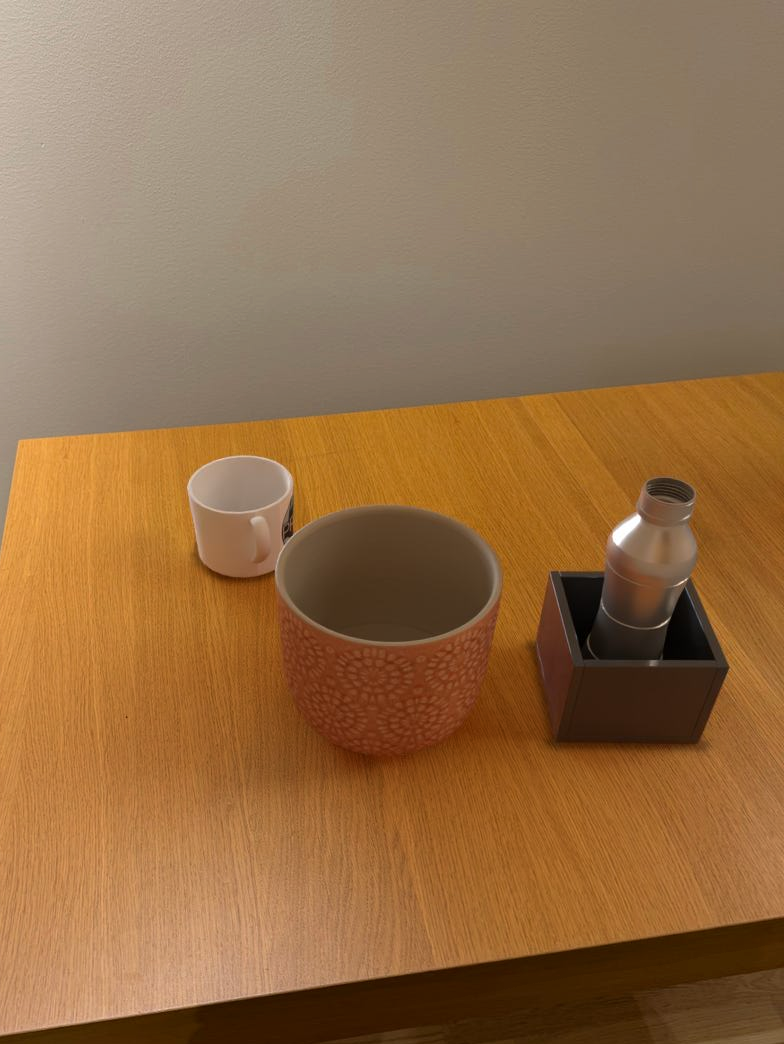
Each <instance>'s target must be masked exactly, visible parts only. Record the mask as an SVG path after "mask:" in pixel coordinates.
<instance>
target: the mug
mask: <svg viewBox="0 0 784 1044" xmlns="http://www.w3.org/2000/svg"><path fill="white" fill-rule="evenodd" d="M186 489H187V495H188V500H189V508H190V511H191V516H192V522H193V527H194V534H195V538H196V544H197V549H198V556H199V558H200V560H201V562H202V563H203V565H204V566H206V567H207V568H209V570H211V571H213V572H215V573H218V574H220V575H222V576H226V577H231V578H245V579H246V578H254V577H260V576H263V575H266V574H269V573H271V572H273V571H275V566H276V562H277V559H278V556H279V554H280V552H281V550H282V548H283V547H284V545H285V544H286V543H287V541H288V540H289V539H290V538H291V537H292V536H293V535H294V501H295V500H294V499H295V496H294V494H295V492H294V491H295V490H294V489H295V481H294V479H293V476H292V474H291V473H290V472H289V470H288V469H287V468H286V467H285V466H284V465H282V464H281V463H279V462H277V461H275V460H272V459H270V458H267V457H263V456H256V455H233V456H226V457H222V458H219V459H215V460H213V461H210V462H208V463H206V464H204V465H202V466H201V467H199V468H198V469H197V470H195V472H194V473H193V474H192V476H191V477H190V478H189V480H188V484H187V486H186Z"/></svg>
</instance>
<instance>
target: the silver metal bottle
mask: <svg viewBox="0 0 784 1044" xmlns="http://www.w3.org/2000/svg"><path fill="white" fill-rule="evenodd" d="M696 500H697V491H696V489H695V488H694V487H693V486H692V485H691V484H690V483H688V482H686V481H684V480H683V479H680V478H677V477H676V478H675V477H671V476H655V477H651V478H649V479H647V480H646V481H645V482H644V483H643V485H642V487H641V491H640V494H639V497H637V500H636V503H635V511H634V512H632V513H630V514H629V515H628V516H626V517H625V518H624V519H623V520H621V521H619V522H618V523H617V524H616V525H615V526H614V528H613V529H612V531H611V532H610V534H609V535H608V538H607V540H606V547H605V559H604V561H605V562H604V571H605V576H604V584H603V590H602V598H601V602H600V608H599V611H598V614H597V616H596V619H595V622H594V625H593V628H592V630H591V633H590V634H589V636H588V637H587V639H586V641H585V643H584V645H583V648H582V650H581V655H582V659H583V660H663V647H664V642H665V637H666V632H667V627H668V624H669V621H670V618H671V615H672V613H673V611H674V608H675V606H676V603H677V600H678V598H679V596H680V594H681V593H682V591H683V589H684V587H685V585H686V583H687V581H688V579H689V577H691V575H692V573H693V572H694V570H695V567H696V565H697V562H698V557H699V556H698V545H697V544H698V543H697V541H696V538H695V536H694V533H693V531H692V529H691V527H690V525H689V524H688V523H689V522H690V521H691V520H692V517H693V513H694V506H695V503H696Z"/></svg>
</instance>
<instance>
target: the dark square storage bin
mask: <svg viewBox="0 0 784 1044" xmlns="http://www.w3.org/2000/svg"><path fill="white" fill-rule="evenodd" d="M604 576H605V570H560V571H559V570H549V573H548V578H547V582H546V587H545V592H544V597H543V602H542V608H541V612H540V616H539V622H538V627H537V631H536V637H535V641H534V642H535V643H534V648H535V653H536V658H537V662H538V667H539V671H540V676H541V680H542V687H543V690H544V694H545V699H546V705H547V708H548V713H549V718H550V722H551V726H552V732H553V737H554V740H555V741H554V742H556V743H599V744H600V743H601V744H602V743H603V744H604V743H607V744H609V743H611V744H612V743H613V744H614V743H615V744H617V743H618V744H699V743H700V742H701V741H700V740H701V738H702V736H703V733H704V731H705V729H706V726H707V724H708V722H709V720H710V717H711V714H712V712H713V710H714V707H715V705H716V702H717V699H718V697H719V695H720V693H721V690H722V687H723V685H724V682H725V680H726V677H727V675H728V672H729V670H730V668H731V667H730V665H729V662H728V660H727V658H726V656H725V653H724V651H723V648H722V647H721V646H722V645H721V644H720V642H719V639H718V637H717V634H716V632H715V630H714V628H713V625H712V623H711V621H710V619H709V616H708V615H707V612H706V609H705V607H704V605H703V602H702V600H701V598H700V596H699V593H698V591H697V589H696V585H695V584H694V582H693V580H692V578H691V576H690V577H689V579H688V581H687V583H686V585H685V587H684V589H683V591H682V593H681V594H680V596H679V598H678V600H677V603H676V606H675V608H674V611H673V613H672V615H671V618H670V621H669V624H668V627H667V632H666V637H665V642H664V647H663V660H583V659H582V655H581V650H582V648H583V645H584V643H585V641H586V639H587V637H588V636H589V634H590V633H591V630H592V628H593V625H594V622H595V619H596V616H597V614H598V611H599V608H600V602H601V598H602V590H603V584H604Z"/></svg>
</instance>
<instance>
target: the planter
mask: <svg viewBox="0 0 784 1044" xmlns="http://www.w3.org/2000/svg"><path fill="white" fill-rule="evenodd" d="M503 572H504V571H503V568H502V563H501V562H500V559H499V556H498V555H497V553H496V551H495V550H494V548H493V547H492V545H490V543H489V542H488V541H487V540H486V539H485V538H484V537H483V536H482V535H480V533H479V532H477V531H476V530H474V529H473V528H471V527H470V526H468V525H467V524H464V523H463V522H461V521H460V520H458V519H455V518H454V517H451V516H448V515H446V514H444V513H440V512H437V511H434V510H430V509H426V508H421V507H417V506H411V505H404V504H403V505H402V504H369V505H360V506H353V507H348V508H343V509H340V510H336V511H333V512H330V513H327V514H325V515H323V516H321V517H318V518H316V519H314V520H312V521H310V522H309V523H307V524H306V525H304V526H302V527H301V528H300V529H298V530H297V531H296V532H294V533H293V536H292V537H291V538H290V539H289V540H288V541H287V543H286V544H285V545H284V547H283V548H282V550H281V552H280V554H279V556H278V559H277V562H276V566H275V570H274V587H275V588H274V589H275V600H276V610H277V621H278V631H279V632H278V633H279V641H280V650H281V652H280V653H281V658H282V666H283V673H284V675H285V676H284V677H285V681H286V684H287V687H288V691H289V695H290V696H291V699H292V702H293V703H294V706H295V708H296V709H297V712H298V713H299V714H300V715H301V717H302V718H303V719H304V721H305V722H306V724H308V725H309V726H310V728H312V730H314V731H315V732H316V733H317V734H318V735H319V736H321V737H323V738H324V739H325V740H326V741H328V742H330V743H332V744H333V745H336V746H338V747H340V748H343V749H346V750H347V751H351V752H353V753H357V754H362V755H367V756H373V757H397V756H404V755H409V754H414V753H418V752H421V751H425V750H427V749H429V748H431V747H433V746H435V745H438V744H440V743H441V742H443V741H444V740H446V739H447V738H449V737H450V736H451V735H452V734H454V733H455V732H456V731H457V730H458V728H460V727H461V726H462V725H463V724H464V722H465V721H466V719H467V718H468V717H469V715H470V714H471V712H472V711H473V708H474V706H475V704H476V703H477V700H478V698H479V695H480V692H481V690H482V687H483V684H484V681H485V677H486V673H487V669H488V665H489V660H490V656H491V652H492V651H491V650H492V645H493V641H494V635H495V631H496V625H497V621H498V615H499V611H500V605H501V599H502V594H503V585H504V573H503Z"/></svg>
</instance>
